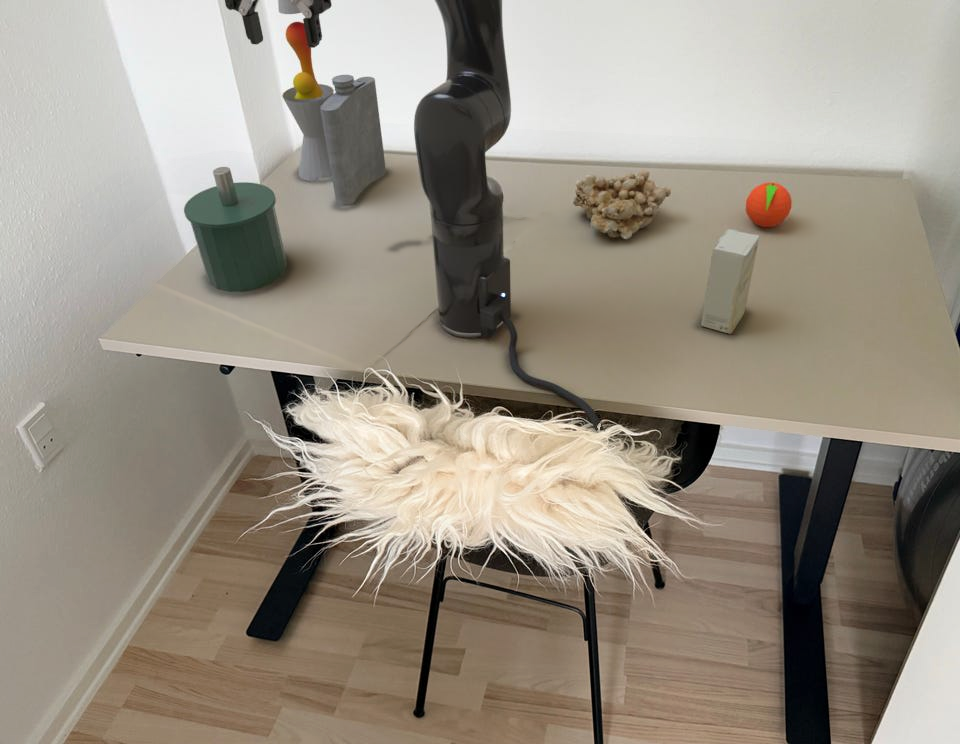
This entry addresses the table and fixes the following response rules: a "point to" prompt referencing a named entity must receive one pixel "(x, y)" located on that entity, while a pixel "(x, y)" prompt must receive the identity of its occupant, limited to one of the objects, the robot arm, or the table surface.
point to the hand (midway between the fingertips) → (285, 44)
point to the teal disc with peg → (229, 202)
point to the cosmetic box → (729, 280)
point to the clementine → (768, 204)
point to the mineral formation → (620, 202)
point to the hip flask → (353, 136)
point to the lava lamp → (307, 102)
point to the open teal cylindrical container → (242, 254)
